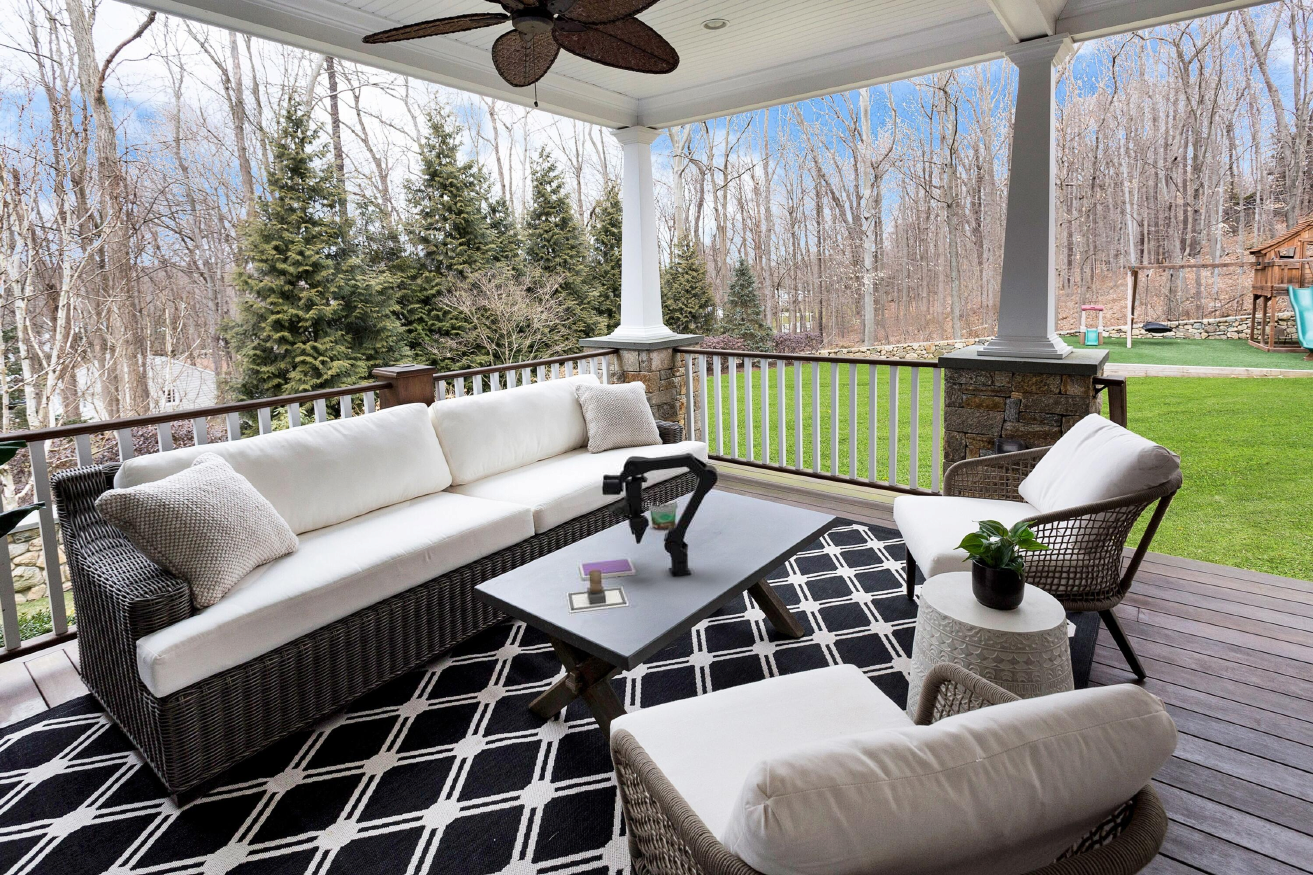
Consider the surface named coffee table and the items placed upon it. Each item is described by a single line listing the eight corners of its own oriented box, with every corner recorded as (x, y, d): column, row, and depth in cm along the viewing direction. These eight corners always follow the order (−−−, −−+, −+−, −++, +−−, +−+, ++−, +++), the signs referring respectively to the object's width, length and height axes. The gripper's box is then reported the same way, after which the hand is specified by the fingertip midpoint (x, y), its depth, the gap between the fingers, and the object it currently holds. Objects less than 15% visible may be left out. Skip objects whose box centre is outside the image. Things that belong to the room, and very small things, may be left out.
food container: (655, 532, 274) (654, 508, 272) (649, 528, 279) (648, 504, 277) (683, 528, 278) (682, 504, 276) (677, 523, 284) (676, 500, 282)
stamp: (587, 595, 218) (585, 568, 216) (603, 593, 219) (601, 566, 217) (589, 604, 212) (588, 577, 210) (606, 602, 213) (604, 575, 211)
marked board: (566, 593, 220) (566, 592, 220) (622, 587, 224) (621, 585, 224) (569, 613, 207) (569, 611, 207) (628, 606, 210) (628, 604, 210)
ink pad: (579, 567, 242) (578, 562, 241) (629, 561, 245) (629, 557, 245) (582, 580, 230) (582, 576, 230) (635, 574, 234) (635, 570, 233)
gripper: (606, 489, 238) (608, 532, 241) (613, 504, 220) (616, 551, 223) (638, 486, 240) (640, 529, 243) (648, 501, 222) (650, 547, 225)
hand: (635, 538), depth 233 cm, fingers open, 9 cm apart
